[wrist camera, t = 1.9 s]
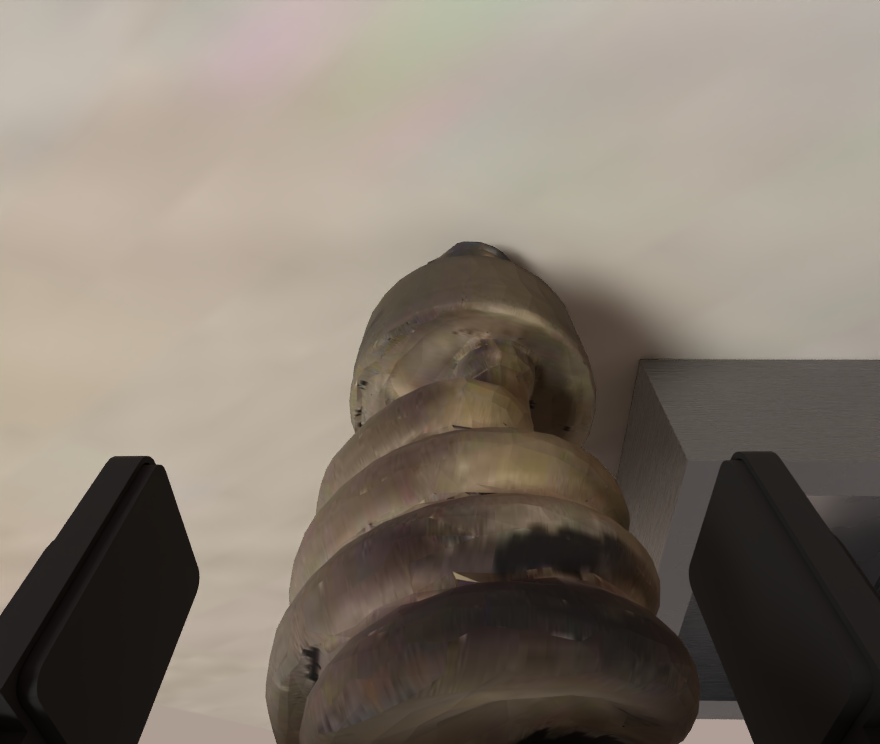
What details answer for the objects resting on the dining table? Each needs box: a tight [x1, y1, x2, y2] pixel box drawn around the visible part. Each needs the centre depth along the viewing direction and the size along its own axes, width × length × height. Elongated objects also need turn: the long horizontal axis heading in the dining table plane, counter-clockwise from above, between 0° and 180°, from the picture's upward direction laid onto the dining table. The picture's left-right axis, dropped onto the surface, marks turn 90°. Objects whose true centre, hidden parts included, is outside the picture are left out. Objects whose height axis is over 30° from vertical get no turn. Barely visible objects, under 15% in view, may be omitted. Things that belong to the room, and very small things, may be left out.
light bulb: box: [266, 242, 700, 744], centre depth 13 cm, size 6×6×15 cm
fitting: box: [617, 360, 880, 719], centre depth 21 cm, size 12×12×5 cm
